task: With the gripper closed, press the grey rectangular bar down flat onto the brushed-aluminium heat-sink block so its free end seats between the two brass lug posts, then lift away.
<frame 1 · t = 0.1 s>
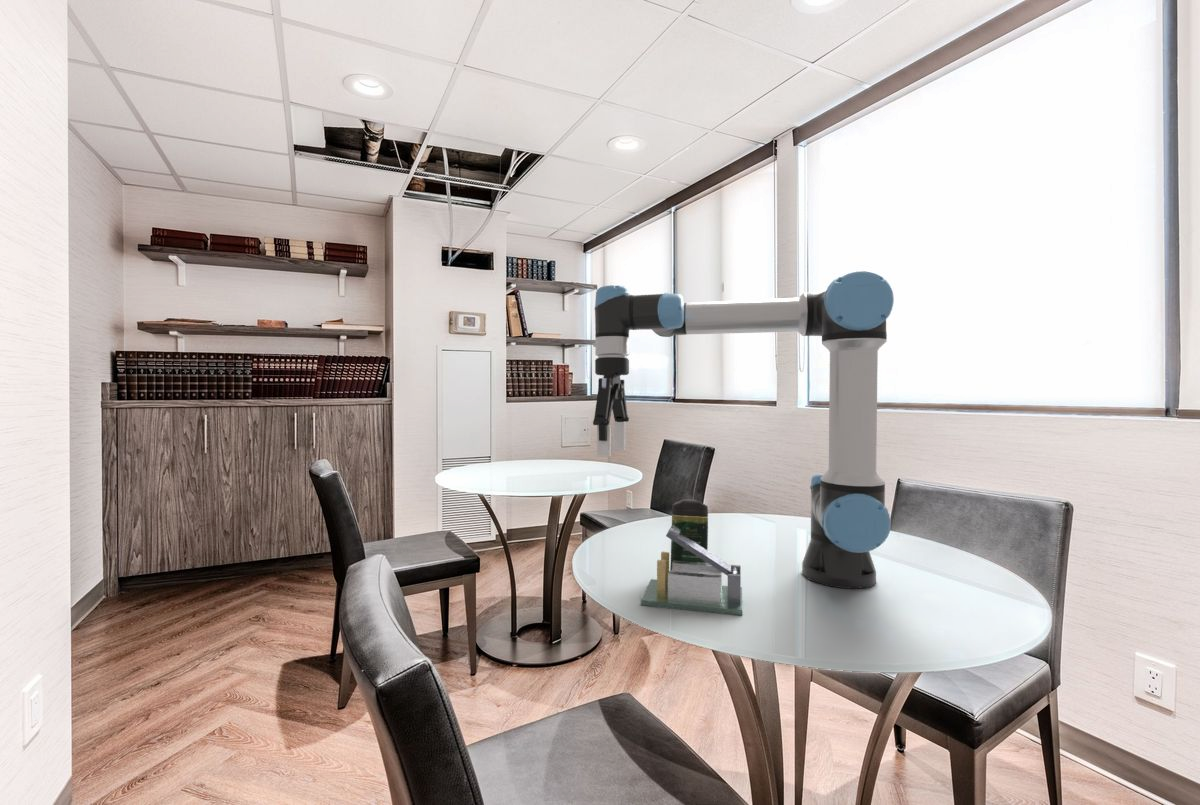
hand: (612, 453, 118), 28 cm above the table, fingers open, 13 cm apart
heatsink base: (695, 598, 107), on the table
grey rectangular bar: (699, 549, 106), point 10 cm above the table, hinge at 30.0°
coffee jar: (688, 586, 115), on the table, touching heatsink base
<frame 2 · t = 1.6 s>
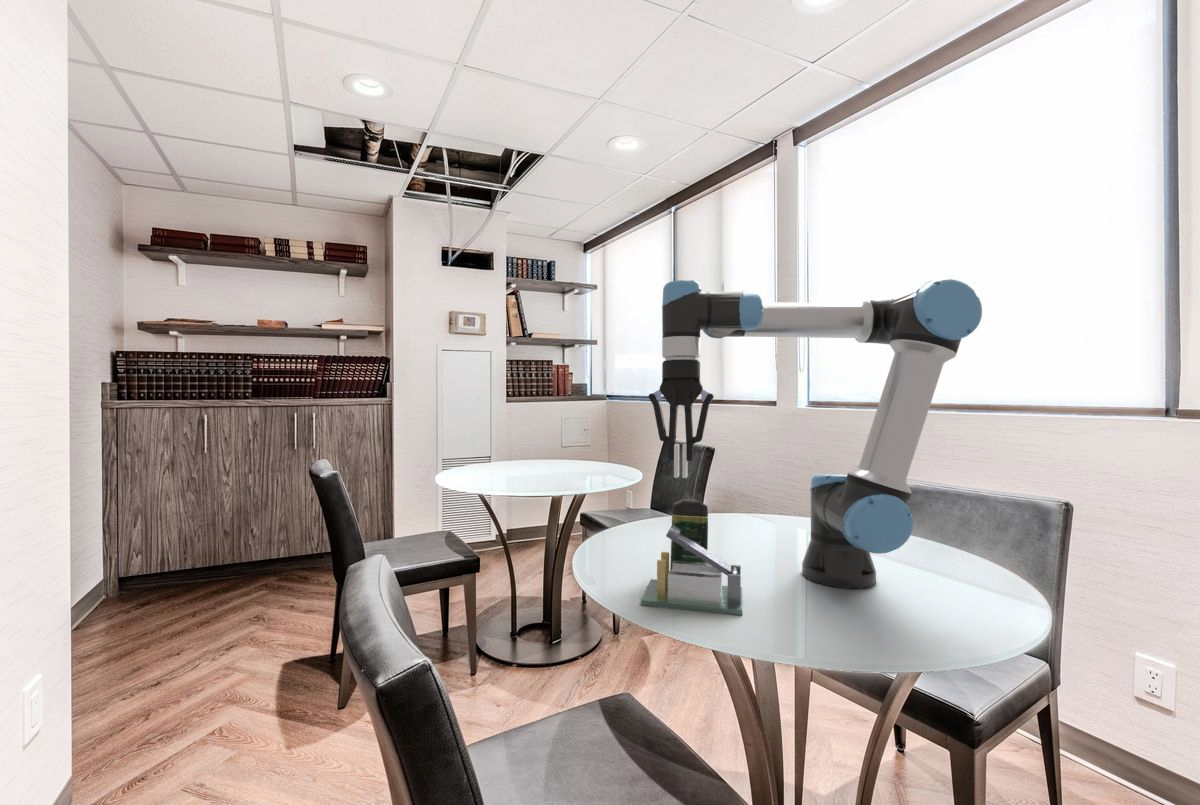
hand: (680, 476, 107), 24 cm above the table, fingers closed
nothing on the table moved.
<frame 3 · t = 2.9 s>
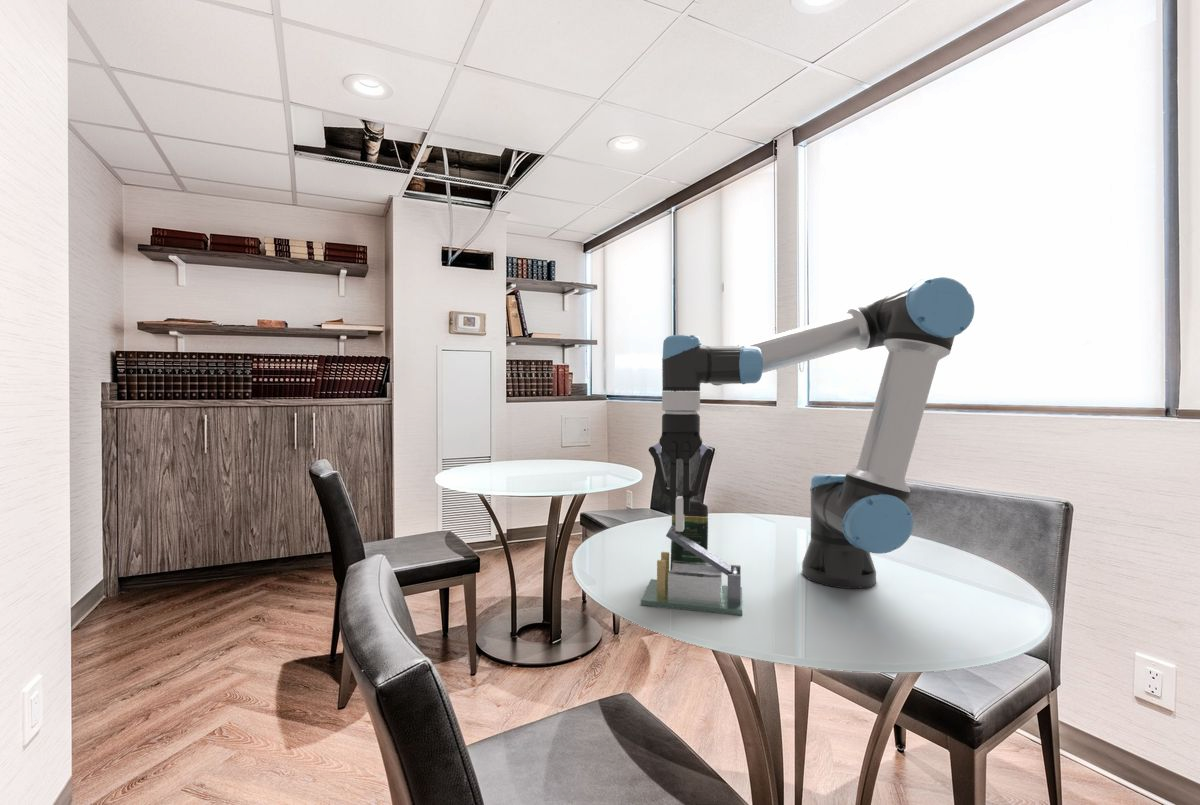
hand: (679, 529, 107), 14 cm above the table, fingers closed
grey rectangular bar: (699, 549, 106), point 10 cm above the table, hinge at 30.0°, touching gripper
everything else where it was.
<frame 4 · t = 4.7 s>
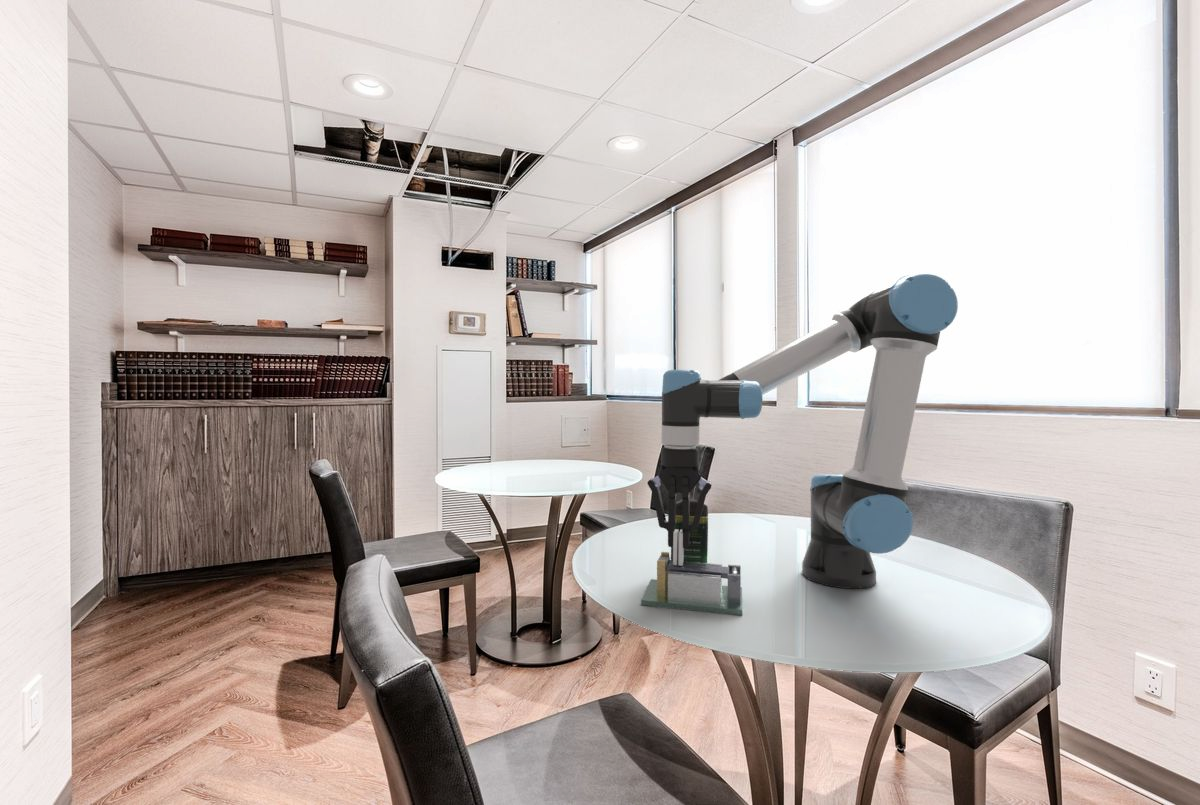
hand: (678, 563, 107), 7 cm above the table, fingers closed
grey rectangular bar: (693, 566, 107), point 6 cm above the table, hinge at 2.7°, touching gripper
everything else where it was.
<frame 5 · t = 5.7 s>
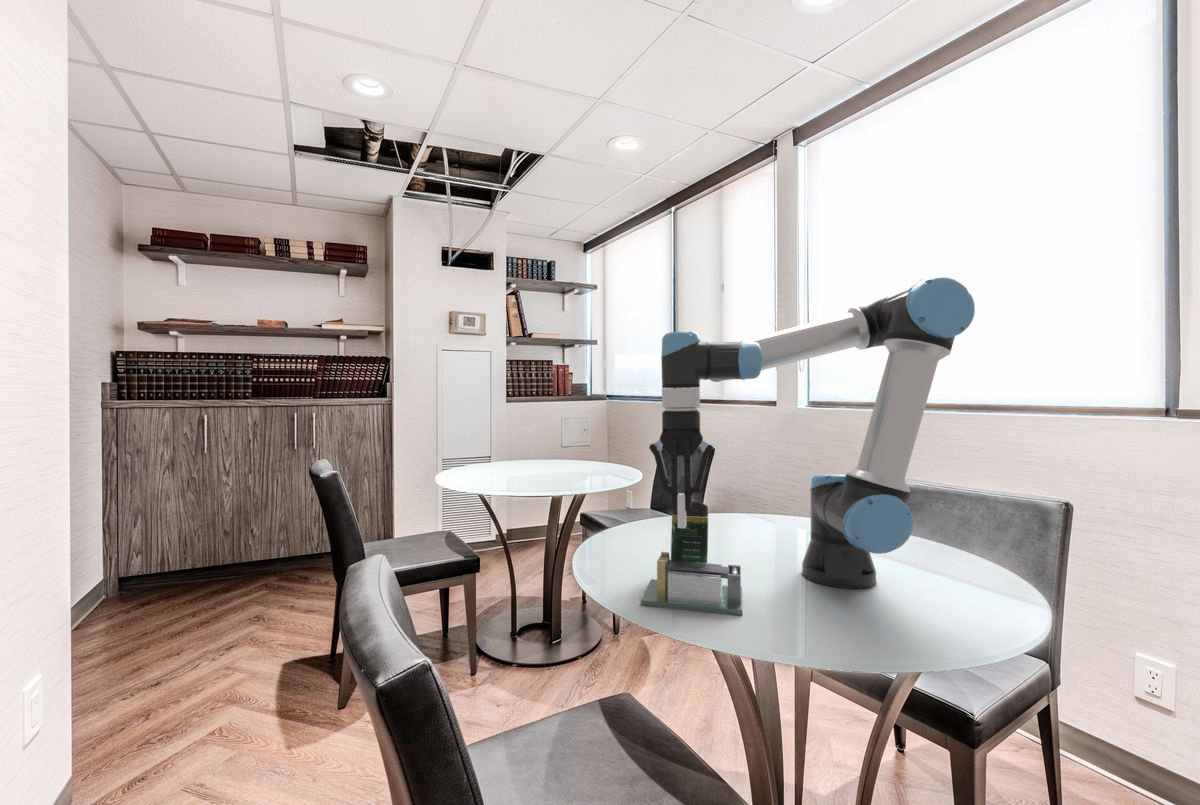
hand: (682, 526, 107), 14 cm above the table, fingers closed
grey rectangular bar: (693, 566, 107), point 6 cm above the table, hinge at 2.7°
everything else where it was.
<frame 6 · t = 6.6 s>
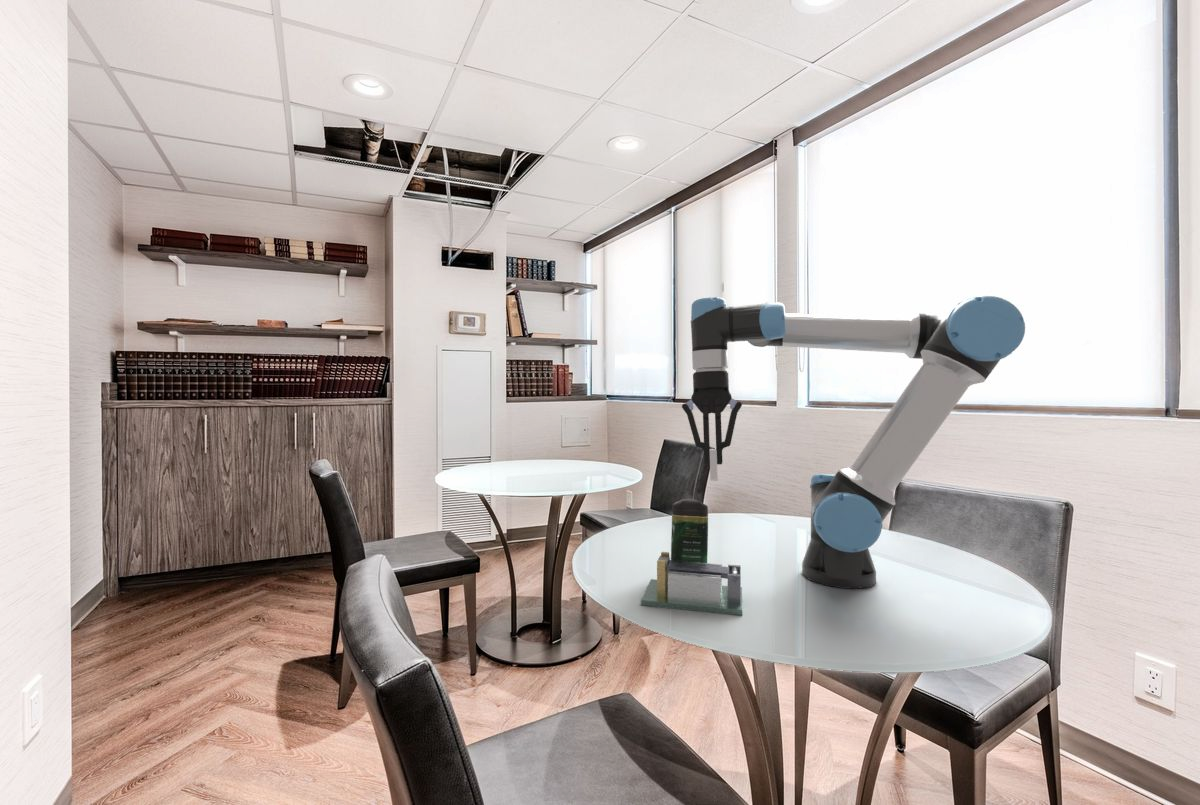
hand: (714, 479, 115), 23 cm above the table, fingers closed
nothing on the table moved.
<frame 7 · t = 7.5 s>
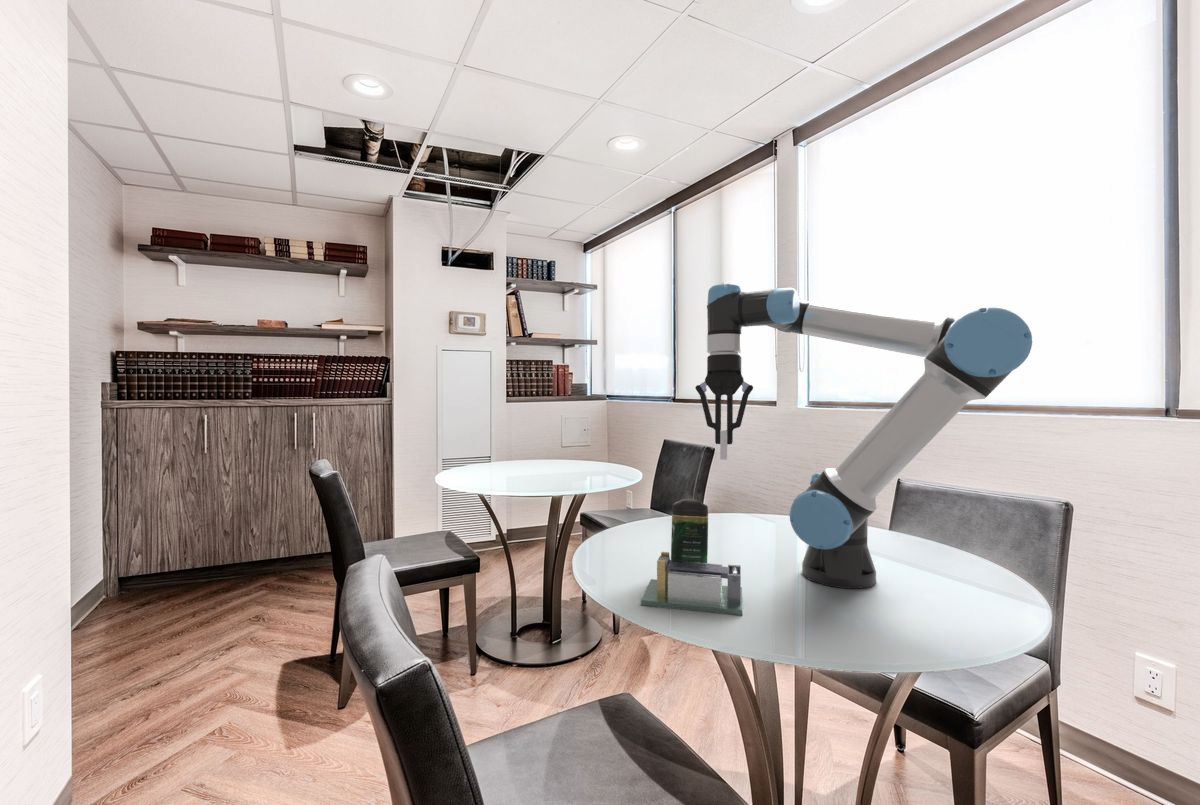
hand: (723, 458, 121), 26 cm above the table, fingers closed
nothing on the table moved.
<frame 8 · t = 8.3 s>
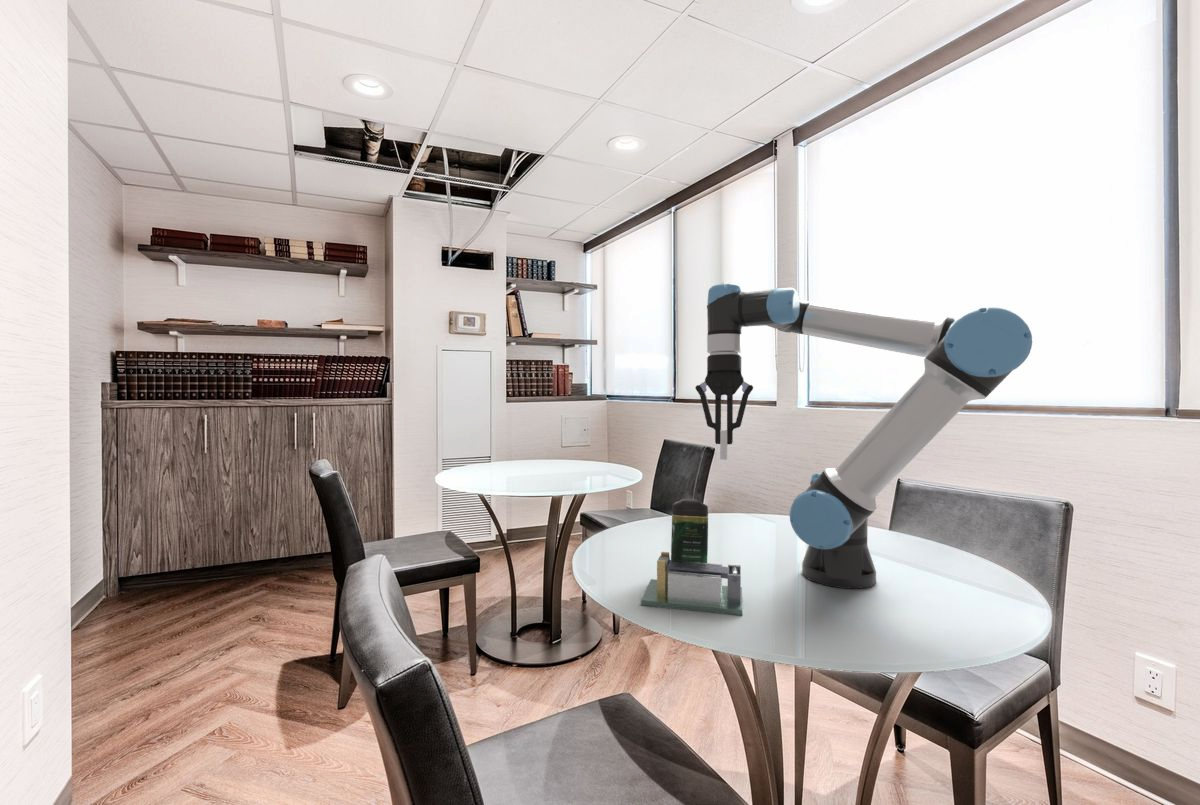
hand: (723, 458, 121), 26 cm above the table, fingers closed
nothing on the table moved.
at the end: grey rectangular bar at +3° (first picture: +30°); grey rectangular bar touching nothing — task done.
